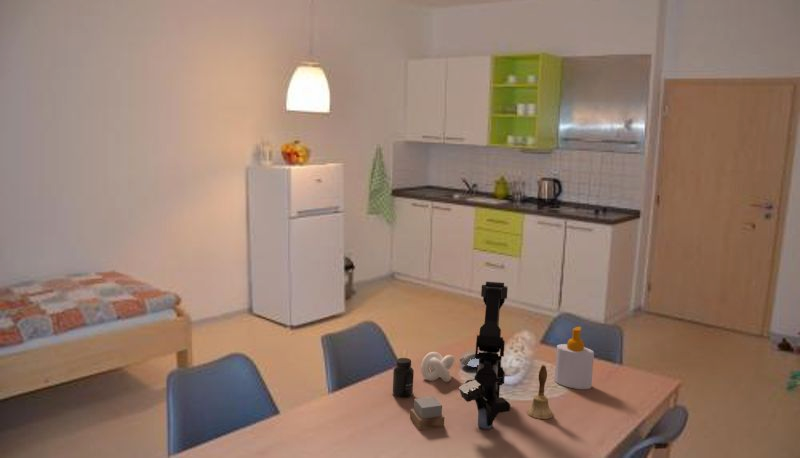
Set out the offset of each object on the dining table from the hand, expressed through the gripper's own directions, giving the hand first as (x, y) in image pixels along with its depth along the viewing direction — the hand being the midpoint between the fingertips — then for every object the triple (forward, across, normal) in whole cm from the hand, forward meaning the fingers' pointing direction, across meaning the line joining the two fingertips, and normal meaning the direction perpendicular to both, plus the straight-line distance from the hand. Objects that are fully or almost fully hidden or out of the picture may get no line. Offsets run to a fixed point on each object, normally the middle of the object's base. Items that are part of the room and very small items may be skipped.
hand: (485, 421), depth 193 cm
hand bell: (+2, -3, +21) cm, 21 cm away
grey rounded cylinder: (+1, 0, 0) cm, 1 cm away
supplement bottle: (+2, -29, -16) cm, 33 cm away
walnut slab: (+2, -8, -16) cm, 18 cm away
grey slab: (-2, -8, -16) cm, 18 cm away
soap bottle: (+2, -20, +45) cm, 49 cm away
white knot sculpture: (+2, -38, 0) cm, 38 cm away
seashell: (+2, -45, +18) cm, 48 cm away
